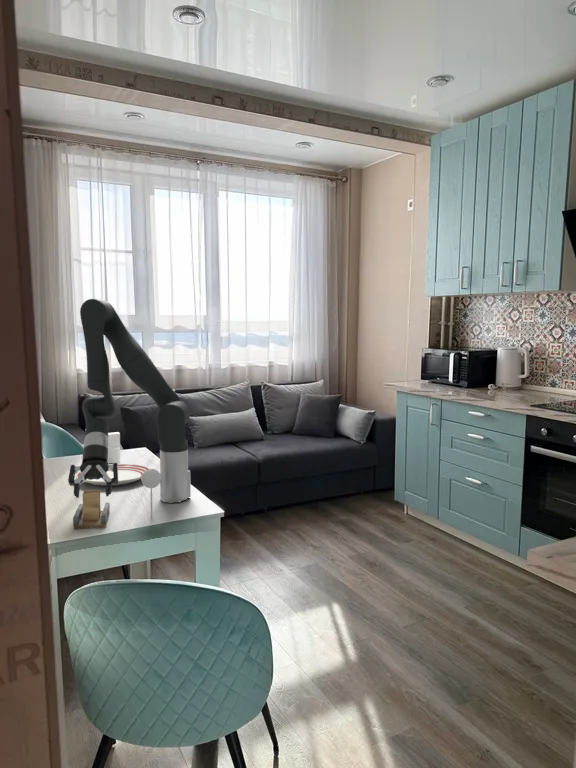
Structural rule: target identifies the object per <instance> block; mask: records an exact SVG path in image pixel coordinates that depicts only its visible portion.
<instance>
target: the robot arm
mask: <svg viewBox="0 0 576 768" xmlns="http://www.w3.org/2000/svg"><path fill="white" fill-rule="evenodd" d="M79 314H80V322H81V326H82V331H83V336H84V337H83V338H84V345H85V353H86V354H85V355H86V376H87V378H86V380H87V381H86V383H87V388H88V389H89V390H90V391H96V392H100V393H101V394H102V395H103V397H101V396H100V397H98V396H97V397H93V396H91V397H87V398H85V399H84V400H83V402H82V405H81V409H82V413H83V417H84V421H85V435H84V436H85V437H84V442H83V447H82V448H83V449H82V451H83V452H82V459H81V465H79V466H78V465H77V466H76V465H75V464H71V465H70V469H69V474H68V479H67V480H68V481H67V482H68V485H69V486H71V487H72V486H73V496H74V497H75V498H76V499H80V489H81V487H80V486H81V485H82V484H83V483H86V482H85V481H86V480H87V479H89V480H92V479H100V478H102V479H103V480H104V481H105V482H106V486H105V497H109V496H110V495H111V494H112V484H114V483H115V484H117V483H118V466H117V464H118V463H114V464H113V465H110V464H107V463H108V450H109V447H108V445H109V443H108V433H109V430H110V426H109V423H108V421H107V420H105V419H111V418H113V417H114V415H115V413H116V407H117V406H116V404H115V400H114V398H113V395H112V391H111V382H110V364H109V362H110V361H109V358H108V354H107V351H106V345H105V339H104V337H105V338H106V339H107V341H108V342H109V344H110V346H111V347H112V350H113V352H114V355H115V358H116V359H117V363H118V365H119V366H120V368H122V370H123V372H124V373H125V374H126V375H127V377H128V378H129V379H130V380H131V381H132V382H133V384H135V385H136V386H137V387H138V388H139V389H141V390H142V391H143V392H144V393H146V394H147V395H148V396H149V397H150V398H151V399H152V400H153V401H154V403H155V404H156V406H157V407H158V409H159V411H158V413H157V420H156V421H157V426H156V427H157V439H158V440H157V441H158V444H159V473H160V475H161V477H162V478H161V481H160V483H159V485H160V486H159V489H160V491H159V492H160V494H159V496H160V497H159V498H160V501H161V502H162V501H163V502H162V503H165V502H169V503H168V504H171V503H170V502H179V501H183V500H186V499H187V498H189V497H191V489H192V488H191V487H192V485H191V483H192V482H191V470H189V442H188V440H187V436H186V425H187V423H189V420H190V418H191V412H190V409H189V407H188V405H187V404H186V403H185V402H184V401H183V399H182V398H180V396H179V395H178V394H177V393H176V392H175V391H174V389H173V388H172V387H170V385H169V384H168V382H167V381H166V379H165V378H164V376H163V374H162V373H161V372H160V371H159V369H158V368H157V367H156V365H155V364H154V362H153V360H152V359H151V358H150V356H149V355H148V354H147V353H146V351H145V350H144V349H143V347H142V346H141V345H140V343H139V342H137V340H136V339H135V337H134V336H133V335H132V334H131V333H130V332H129V330H128V329H127V327H126V326H125V324H124V323H123V321H122V319H121V318H120V316H119V314H118V313H117V311H116V309H115V308H114V307H113V305H112V304H111V303H110V302H109V301H106V300H105V299H101V298H100V299H99V298H89V299H86V300H85V301H84V302H83V303H82V305H81V306H80V310H79ZM109 469H110V470H111V472H113V477H114V478H112V479H111V478H110V477H109V476H108V475H107V473H106V472H107V471H108V470H109ZM79 471H81V472H82V473H81V474H80V475H79V477H78V478H76V476H75V475H76V474H77V472H79ZM75 478H76V479H75ZM187 500H188V499H187ZM187 500H186V501H187Z"/></svg>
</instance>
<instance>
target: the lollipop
mask: <svg viewBox="0 0 576 768" xmlns="http://www.w3.org/2000/svg"><path fill="white" fill-rule="evenodd" d="M161 478H162V477H161V475H160V471H159V470H157V469H155V468H150V469H148V470H146V471H145V472H144V473H143V474H142V476H141V479H140V481H141V482H142V486H144V487H145V488H147V489H150V517H151V516H152V517H153V489H154V488H155V489H156V487H158V486H159V485H160V481H161Z"/></svg>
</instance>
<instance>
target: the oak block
mask: <svg viewBox="0 0 576 768" xmlns="http://www.w3.org/2000/svg"><path fill="white" fill-rule="evenodd" d="M82 504H83V521H85V520H99V519H100V515H101V511H102V510H101V489H85V490H83V492H82Z"/></svg>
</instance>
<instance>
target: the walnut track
mask: <svg viewBox="0 0 576 768" xmlns="http://www.w3.org/2000/svg"><path fill="white" fill-rule="evenodd" d="M110 507H111V505H110V502H105V503H104V506H103V510H101V515H100V519H99V520H85V521H83V503H79V504H78V505H77V508H76V511H75V513H74V515H73V516H72V517H73V519H72V520H73V521H72V522H73V523H72V527H73V530H86V529H87V530H88V529H99V528H100V529H101V528H102V529H103V528H106V527H107V524H108V521H109V518H110V514H111V513H110V512H111V510H110Z"/></svg>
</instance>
